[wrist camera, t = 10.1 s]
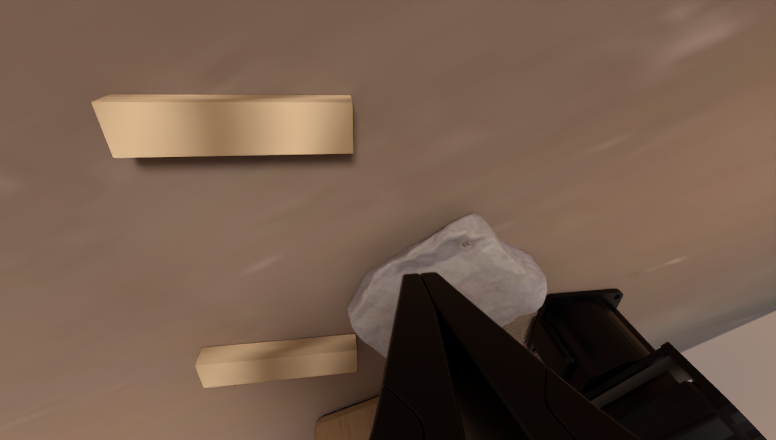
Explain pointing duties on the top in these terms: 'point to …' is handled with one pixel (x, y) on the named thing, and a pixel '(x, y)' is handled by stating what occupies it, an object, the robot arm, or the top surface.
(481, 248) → the stone block
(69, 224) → the top surface
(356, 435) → the wooden block
